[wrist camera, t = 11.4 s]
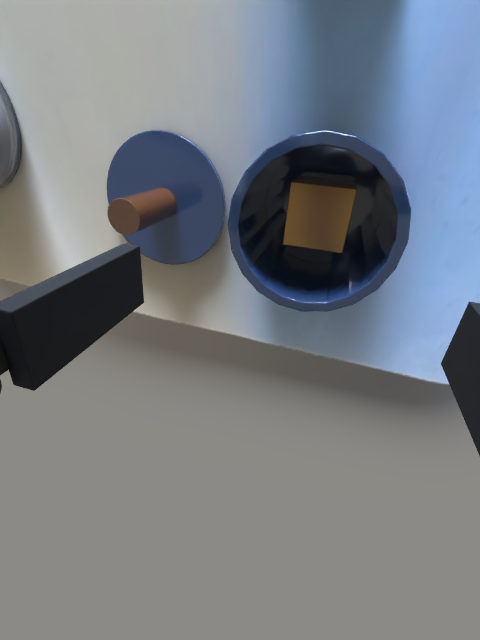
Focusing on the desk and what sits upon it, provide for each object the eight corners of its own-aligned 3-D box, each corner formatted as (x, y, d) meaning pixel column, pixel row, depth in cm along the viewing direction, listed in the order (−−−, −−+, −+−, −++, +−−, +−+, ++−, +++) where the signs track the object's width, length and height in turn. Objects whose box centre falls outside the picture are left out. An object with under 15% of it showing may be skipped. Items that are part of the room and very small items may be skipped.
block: (290, 230, 34) (282, 244, 30) (299, 175, 32) (291, 181, 27) (343, 238, 33) (342, 253, 29) (355, 182, 31) (356, 189, 26)
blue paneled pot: (239, 172, 34) (200, 184, 25) (369, 104, 28) (379, 89, 19) (286, 283, 38) (267, 329, 29) (408, 243, 32) (430, 282, 23)
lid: (91, 168, 38) (29, 175, 30) (189, 102, 32) (141, 92, 25) (152, 276, 42) (110, 305, 35) (247, 236, 36) (222, 261, 29)
